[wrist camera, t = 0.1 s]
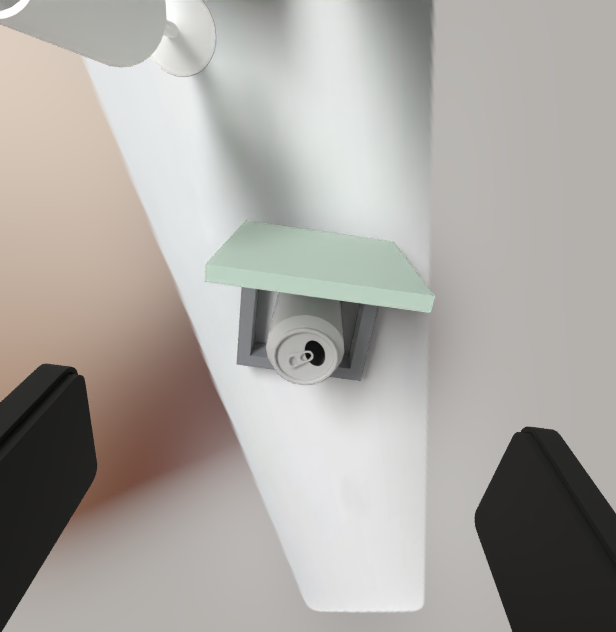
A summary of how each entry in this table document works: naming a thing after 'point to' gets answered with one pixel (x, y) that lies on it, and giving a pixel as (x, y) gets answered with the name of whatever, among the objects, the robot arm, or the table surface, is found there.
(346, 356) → the duct box
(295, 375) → the can
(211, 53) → the champagne flute
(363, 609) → the table surface
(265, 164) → the table surface
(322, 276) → the plate
